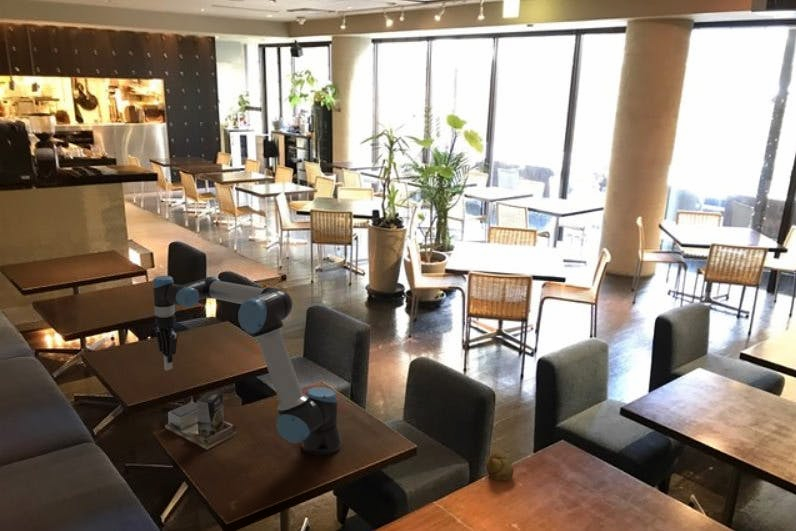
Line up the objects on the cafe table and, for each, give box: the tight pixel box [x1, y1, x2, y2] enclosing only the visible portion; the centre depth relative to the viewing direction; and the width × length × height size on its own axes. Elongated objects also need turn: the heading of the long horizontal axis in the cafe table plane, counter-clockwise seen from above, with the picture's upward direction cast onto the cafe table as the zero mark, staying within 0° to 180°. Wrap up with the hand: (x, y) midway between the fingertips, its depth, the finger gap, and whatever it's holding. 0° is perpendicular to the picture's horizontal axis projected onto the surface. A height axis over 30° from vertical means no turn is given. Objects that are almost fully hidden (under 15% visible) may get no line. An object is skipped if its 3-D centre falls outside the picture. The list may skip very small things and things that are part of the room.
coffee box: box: [196, 391, 225, 438], centre depth 238 cm, size 9×6×16 cm
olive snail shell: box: [485, 452, 514, 482], centre depth 221 cm, size 13×10×8 cm
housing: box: [167, 401, 198, 430], centre depth 248 cm, size 8×12×5 cm
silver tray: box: [164, 420, 237, 450], centre depth 244 cm, size 26×14×4 cm, turn 55°
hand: (168, 369), depth 249 cm, fingers closed
